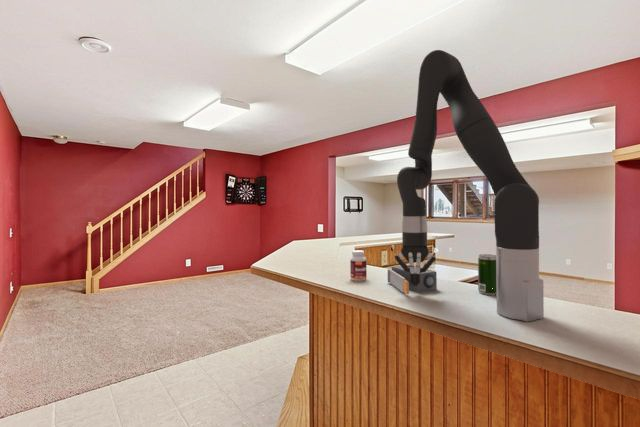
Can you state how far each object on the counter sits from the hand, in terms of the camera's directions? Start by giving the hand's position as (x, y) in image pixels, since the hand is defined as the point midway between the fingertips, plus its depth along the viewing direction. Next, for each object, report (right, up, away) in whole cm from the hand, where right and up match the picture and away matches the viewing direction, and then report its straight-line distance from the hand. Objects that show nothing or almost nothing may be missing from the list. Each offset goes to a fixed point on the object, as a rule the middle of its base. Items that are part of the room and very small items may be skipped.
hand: (415, 284), depth 100 cm
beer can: (+23, -3, 0) cm, 23 cm away
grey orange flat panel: (-4, -3, +7) cm, 8 cm away
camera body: (+2, -3, +10) cm, 11 cm away
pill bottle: (-15, -3, +22) cm, 27 cm away
